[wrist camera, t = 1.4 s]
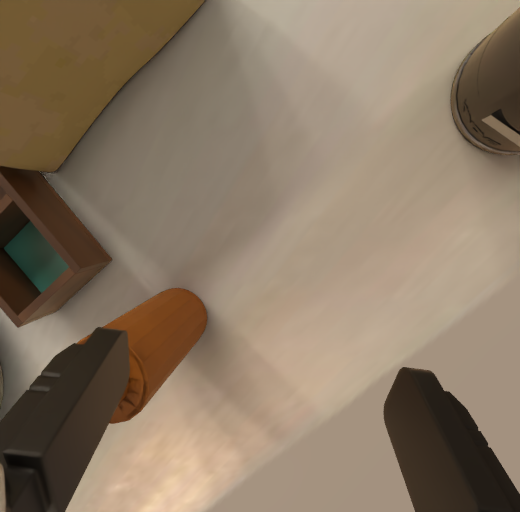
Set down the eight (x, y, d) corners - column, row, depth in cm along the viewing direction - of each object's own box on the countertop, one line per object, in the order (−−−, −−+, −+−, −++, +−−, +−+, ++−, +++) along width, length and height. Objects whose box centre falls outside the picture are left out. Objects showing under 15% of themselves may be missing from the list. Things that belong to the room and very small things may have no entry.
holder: (-1, 124, 31) (-52, 111, 27) (112, 259, 32) (81, 268, 27) (-52, 185, 33) (-108, 182, 29) (56, 311, 34) (17, 328, 29)
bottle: (181, 276, 31) (54, 346, 16) (219, 322, 31) (132, 437, 16) (139, 311, 32) (-16, 409, 17) (176, 355, 33) (57, 493, 17)
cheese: (181, -73, 27) (26, -418, 12) (243, 33, 27) (169, -172, 12) (-3, 89, 31) (-282, -16, 16) (54, 177, 31) (-166, 152, 17)
